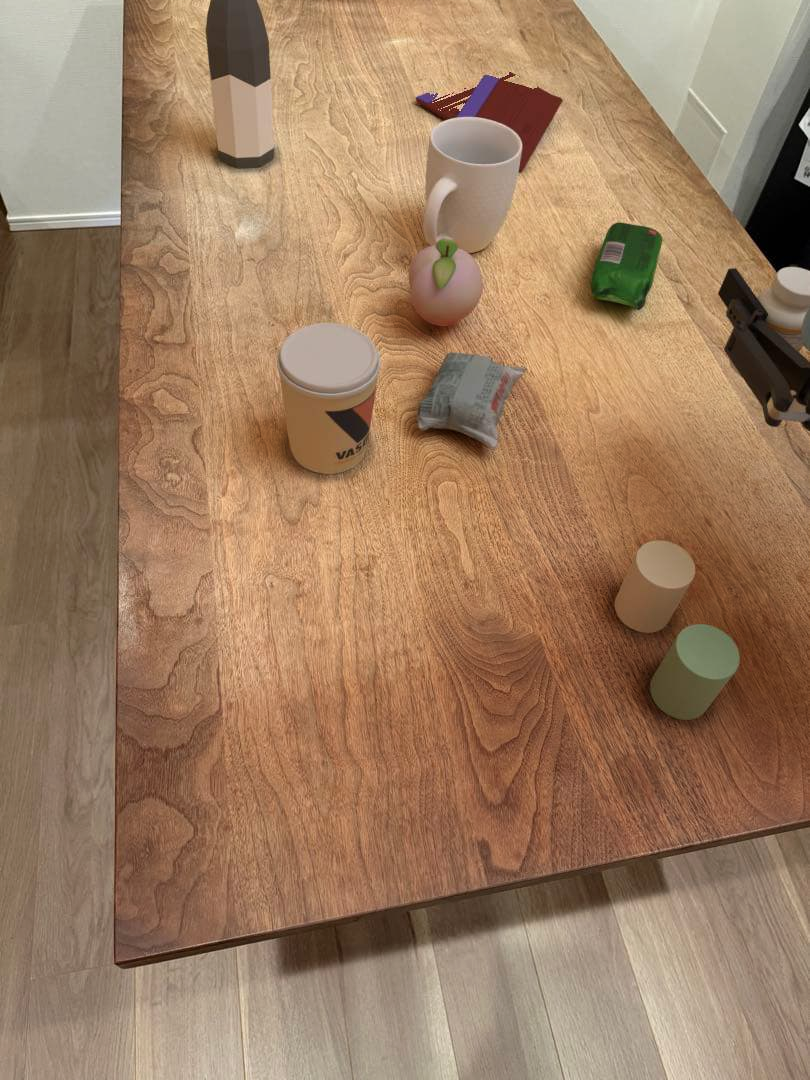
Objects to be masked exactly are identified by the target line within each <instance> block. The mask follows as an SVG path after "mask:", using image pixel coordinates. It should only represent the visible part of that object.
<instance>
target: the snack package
mask: <svg viewBox="0 0 810 1080" xmlns="http://www.w3.org/2000/svg"><path fill="white" fill-rule="evenodd" d="M662 245H663V236H662V234H661V233H660V232H659V231H658V230H656V229H654V228H652V227H649V226H646V225H645V226H644V225H639V224H638V225H637V224H632V223H626V222H615V223H613V224H611V225H610V227H609V228H608V229H607V232H606V234H605V237H604V239H603V242H602V244H601V246H600V247H601V248H600V249H599V253H598V254H597V257H596V260H595V263H594V268H593V271H592V276H591V280H590V293H591V294H592V295H593V297H594V299H597V300H601V301H608V302H613V303H618V304H619V305H624V306H631V307H634V308H633V310H636V311H641V310H642V309H643V308H644V307H645V305H646V299H647V296H648V295H649V292H650V290H651V289H652V285H653V283H654V279H655V275H656V271H657V265H658V260H659V255H660V252H661V249H662Z"/></svg>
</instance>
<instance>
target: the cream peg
mask: <svg viewBox="0 0 810 1080" xmlns="http://www.w3.org/2000/svg"><path fill="white" fill-rule="evenodd" d="M695 575H696V564H695V562H694V560H693V557H692V556H691V555H690V554H689V552H687V550H685V549H684V548H683V547H681V546H680V545H678V544H676V543H674V542H671V541H668V540H651V541H648V542H646V543H644V544H642V545H641V546H640V547H639V548H638V550H637V552H636V554H635V556H634V558H633V560H632V562H631V565H630V567H629V569H628V571H627V573H626V575H625V577H624V579H623V582H622V584H621V585H620V588H619V590H618V592H617V594H616V596H615V599H614V610H615V613H616V615H617V618H618V619H619V620H620V621H621V622H622V623H623V624H624V625H625V626H626V627H628V628H629V629H631V630H633V631H636V632H639V633H642V634H643V633H644V634H651V633H657V632H659V631H661V630H663V629H664V628H665V627H666V626H667V625H668V623H669V622H670V620H671V618H672V616H673V615H674V613H675V611H676V609H678V606H679V605H680V603H681V601H682V599H683V597H684V596H685V595H686V592H687V591H688V589H689V587H690V585H691V584H692V581H693V580H694V578H695Z"/></svg>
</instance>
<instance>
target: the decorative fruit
mask: <svg viewBox="0 0 810 1080" xmlns="http://www.w3.org/2000/svg"><path fill="white" fill-rule="evenodd" d="M408 283H409V290H410V300H411V304H412V306H413V308H414V310H415V312H416V313H417V314H418V315H419V316H420V317H421V318H422V319H423V320H424V321H425V322H428V323H429V324H430V325H431V324H432V325H436V326H441V327H447V326H452V325H456V324H457V323H459V322H461V321H463V320H464V319H465V318H467V317H468V316H469V315H470V314H471V313H472V312H473V311H474V310H475V309H476V308H477V306H478V304H479V303H480V301H481V298H482V294H483V292H484V291H483V290H484V281H483V276H482V271H481V268H480V265H479V264H478V262H477V261H476V259H475V258H474V257H473V255H471V253H467V252H466V251H464V250H462V249H459V248H458V245H457V244H456V242H455V241H453V240H451V239H446V238H443V239H441V240H439V241H438V242H437V243H436V245H432V246H431V245H430V246H427V247H425V248H422V249H421V250H420V251H419V252H418V253H417V254H416V255H415V256H414V257H413V258H412V260H411V262H410V264H409V268H408Z"/></svg>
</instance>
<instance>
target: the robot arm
mask: <svg viewBox="0 0 810 1080" xmlns="http://www.w3.org/2000/svg"><path fill="white" fill-rule="evenodd" d="M788 267H798V268H800V267H799V265H798V264H789V265H788ZM717 296H719V298H720V300H721V301H722V303H723V305H724V306H725V308H726V311H725V315H726V318H727V319H728V321H729V322H730V323H731V325H732V327H733V328H732V330H731V332H730V334H729V337H728V339H727V341H726V343H725V345H724V347H723V351H724V353H725V354H726V356H727V358H729V361H730V360H731V361H732V363H733V364H734V366H735V367H736V369H737V370H738V372H739V373H740V375H741V376H742V377H741V378H742V379H743V381H744V382H745V384H746V385H747V387H748V388H749V390H750V391H751V393H752V394H753V395H754V397H755V398H756V400H757V401H758V403H759V404H760V406H761V408H762V413H763V417H764V418H763V419H764V422H765V424H766V425H767V426H769V427H772V428H777V427H779V426H780V425H781V424H782V421H790V422H796V423H800V425H801V426H802V427H803V429H805V430H806V431H808V432H810V361H809V359H807V358H806V357H805V356H804V355H803V354H802V353H801V352H798V351H797V350H796V349H795V348H794V347H792V346H791V345H790V344H789V343H788V342H787V341H786V340H785V339H783V338H782V337H781V336H780V335H779V334H778V333H777V332H776V331H774V330H773V329H772V328H771V327H770V326H769V325H768V324H767V323H765V320H766V318H767V316H768V313H767V311H766V310H765V308H764V307H763V306H762V304H761V303H760V301H759V300H758V299H757V297H758V296H756V294H755V293H754V291H753V290H752V289H751V287H750V286H749V284H748V283H747V281H746V280H745V278H744V277H743V276H742V275H741V273H740V272H739V270H738V269H737V267H736V268H735V267H734V268H728V269H727V271H726V274H725V275H724V278H723V281H722V283H721V285H720V288H719V290H718V292H717ZM802 340H803V341H804V344H803V346H804V348H805V349H806V350H807V351H808V352H810V307H809V309H808V310H807V313H806V315H805V317H804V320H803V324H802Z"/></svg>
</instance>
